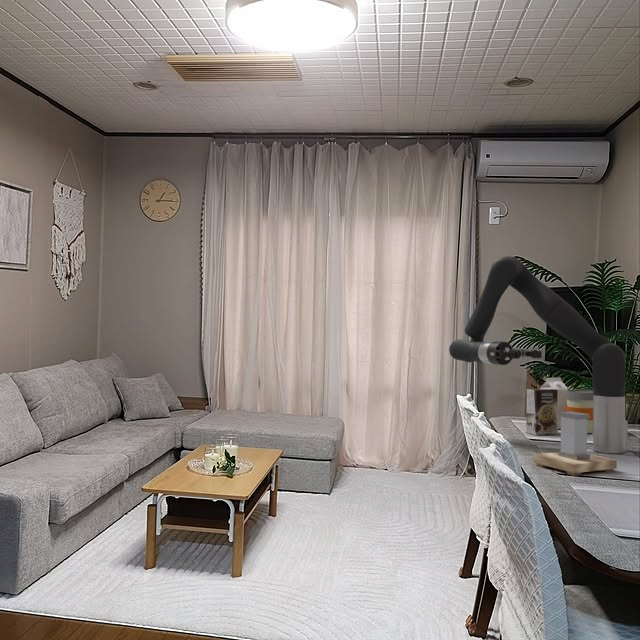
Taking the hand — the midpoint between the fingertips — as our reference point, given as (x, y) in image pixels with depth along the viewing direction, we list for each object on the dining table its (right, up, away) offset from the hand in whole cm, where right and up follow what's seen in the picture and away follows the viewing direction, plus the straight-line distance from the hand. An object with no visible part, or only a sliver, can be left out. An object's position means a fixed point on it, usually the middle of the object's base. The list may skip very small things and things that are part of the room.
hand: (529, 354), depth 208 cm
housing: (+6, -27, -20) cm, 34 cm away
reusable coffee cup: (+33, -31, +43) cm, 62 cm away
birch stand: (+6, -30, -21) cm, 37 cm away
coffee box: (+16, -31, +39) cm, 52 cm away
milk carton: (+25, -31, +53) cm, 66 cm away
